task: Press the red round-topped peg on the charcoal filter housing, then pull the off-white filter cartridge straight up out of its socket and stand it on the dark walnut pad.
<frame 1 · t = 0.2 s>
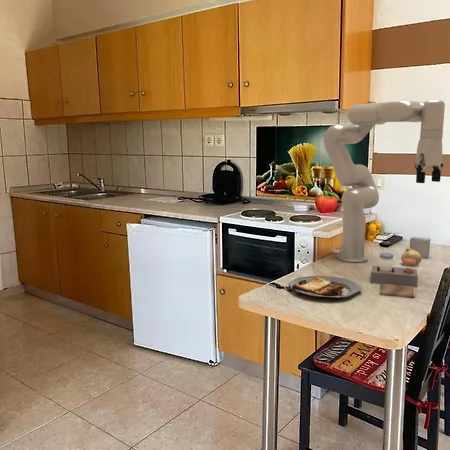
hand: (428, 182, 175), 37 cm above the table, tool pointing down, fingers open, 9 cm apart
medicine box: (418, 257, 213), on the table
food plate: (324, 291, 165), on the table
housing: (393, 280, 176), on the table
pad: (396, 291, 164), on the table
cartridge: (384, 280, 177), resting in housing
red round-topped peg: (408, 268, 174), point 5 cm above the table, slide at 0.0 cm
onion: (410, 265, 199), on the table
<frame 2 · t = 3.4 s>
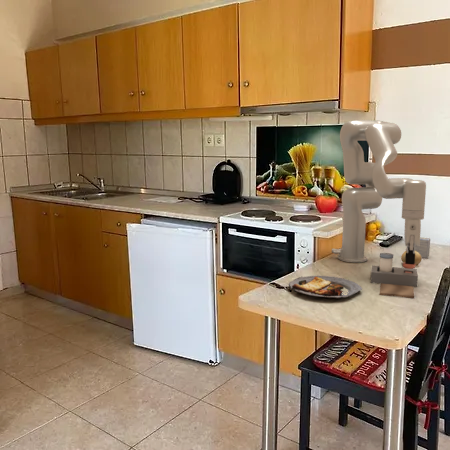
hand: (409, 263, 173), 7 cm above the table, tool pointing down, fingers closed
red round-topped peg: (408, 272, 174), point 4 cm above the table, slide at 1.4 cm, touching gripper
everything else where it was.
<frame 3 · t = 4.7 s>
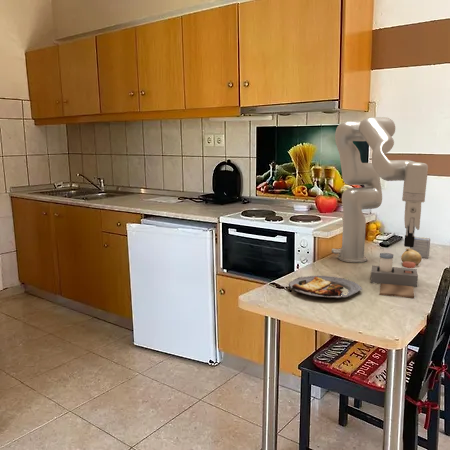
hand: (408, 246, 173), 13 cm above the table, tool pointing down, fingers closed
red round-topped peg: (408, 271, 174), point 4 cm above the table, slide at 1.2 cm
everything else where it was.
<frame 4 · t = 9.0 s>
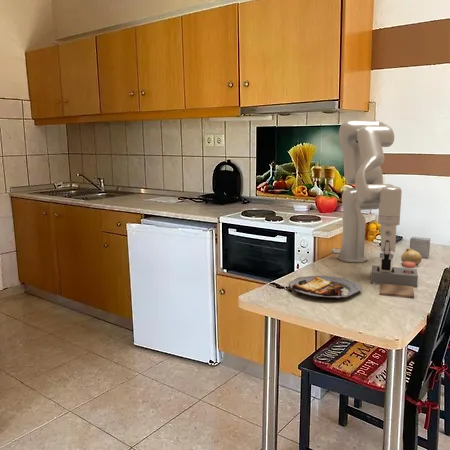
hand: (385, 267, 176), 5 cm above the table, tool pointing down, fingers closed on cartridge, 4 cm apart
cartridge: (385, 280, 177), resting in housing, touching gripper
everything else where it was.
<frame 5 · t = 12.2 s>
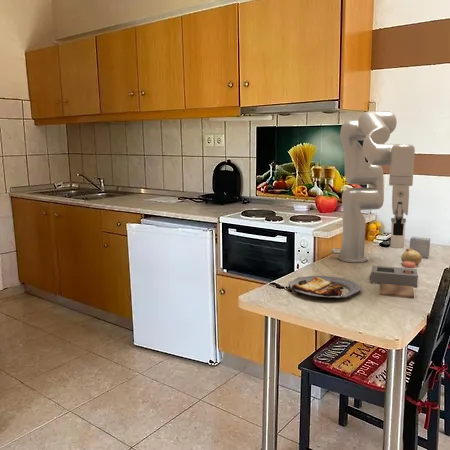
hand: (397, 233, 163), 20 cm above the table, tool pointing down, fingers closed on cartridge, 4 cm apart
cartridge: (396, 247, 164), point 15 cm above the table, touching gripper
everything else where it was.
when the fingers open (7 cm above the table, at t = 15.5 s): cartridge drops 1 cm, resting on pad.
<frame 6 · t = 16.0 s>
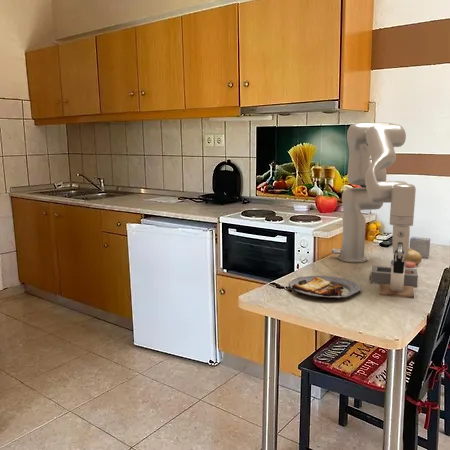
hand: (398, 269, 162), 8 cm above the table, tool pointing down, fingers open, 9 cm apart
cartridge: (396, 289, 164), point 1 cm above the table, touching pad
everything else where it was.
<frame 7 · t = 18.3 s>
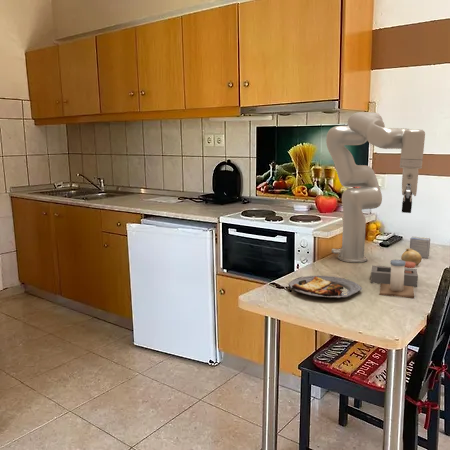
hand: (406, 210, 174), 26 cm above the table, tool pointing down, fingers open, 9 cm apart
nothing on the table moved.
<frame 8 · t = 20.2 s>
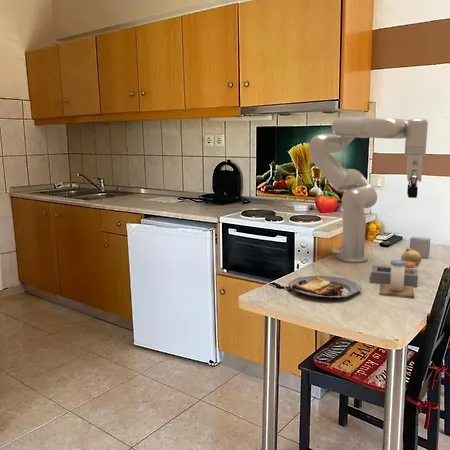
hand: (411, 196, 184), 30 cm above the table, tool pointing down, fingers open, 9 cm apart
nothing on the table moved.
at the end: red round-topped peg slide at 1.2 cm; cartridge 0.1 cm off-centre on the pad, point 0.8 cm above the pad's base; cartridge tilted 1° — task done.
